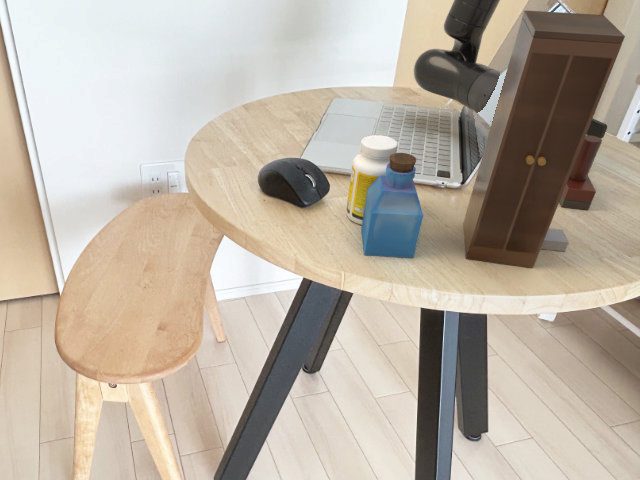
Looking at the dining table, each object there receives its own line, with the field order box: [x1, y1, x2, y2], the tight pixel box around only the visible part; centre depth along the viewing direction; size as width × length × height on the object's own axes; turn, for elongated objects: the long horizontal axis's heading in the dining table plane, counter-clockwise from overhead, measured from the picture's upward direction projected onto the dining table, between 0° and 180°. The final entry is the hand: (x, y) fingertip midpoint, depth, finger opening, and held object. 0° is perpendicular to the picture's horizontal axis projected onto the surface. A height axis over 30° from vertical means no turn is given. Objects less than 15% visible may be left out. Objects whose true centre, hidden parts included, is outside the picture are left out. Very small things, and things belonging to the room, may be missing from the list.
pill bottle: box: [345, 134, 399, 226], centre depth 77 cm, size 6×6×11 cm
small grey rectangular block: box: [540, 227, 570, 252], centre depth 75 cm, size 3×3×1 cm
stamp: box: [559, 135, 603, 211], centre depth 83 cm, size 8×4×9 cm, turn 166°
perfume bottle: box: [360, 152, 424, 259], centre depth 71 cm, size 6×6×12 cm
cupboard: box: [462, 10, 626, 269], centre depth 66 cm, size 10×8×27 cm
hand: (580, 136), depth 82 cm, fingers open, 8 cm apart
